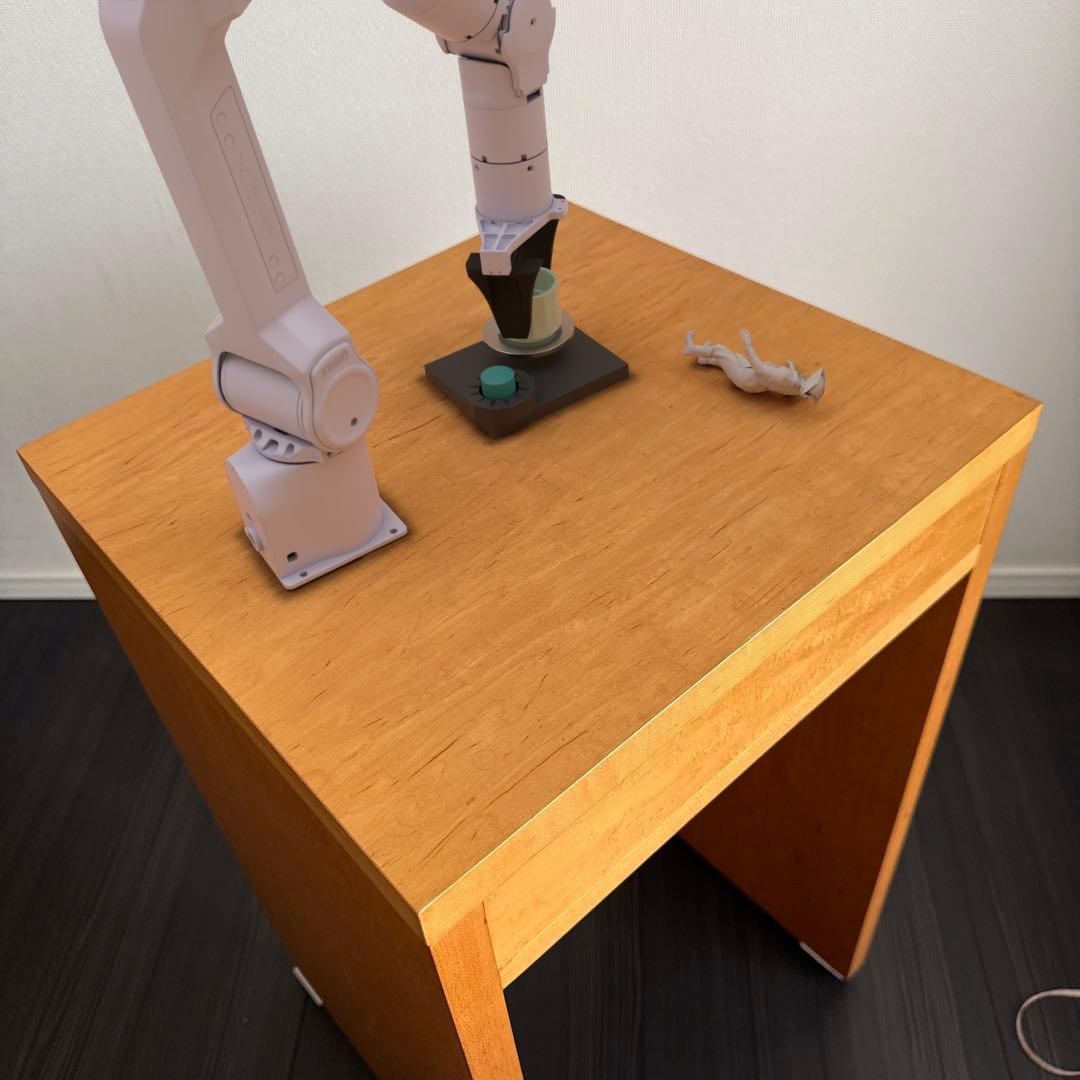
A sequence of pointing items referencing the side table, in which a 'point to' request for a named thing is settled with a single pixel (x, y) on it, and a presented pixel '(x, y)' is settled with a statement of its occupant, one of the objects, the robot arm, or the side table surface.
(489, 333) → the scale plate
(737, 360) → the soldier figure
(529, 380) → the scale
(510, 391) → the tare button
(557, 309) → the pale green cup
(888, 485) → the side table surface
